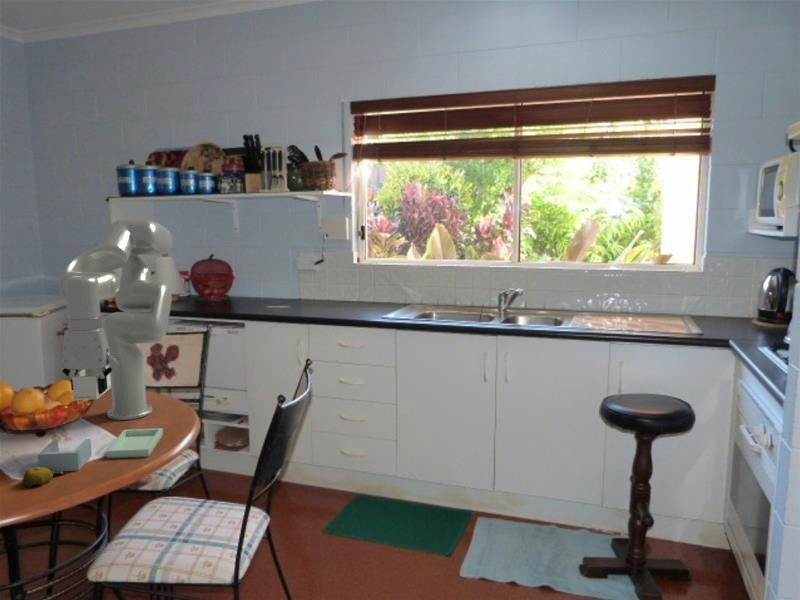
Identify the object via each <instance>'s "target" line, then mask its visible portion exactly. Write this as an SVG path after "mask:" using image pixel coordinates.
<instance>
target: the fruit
mask: <svg viewBox="0 0 800 600" xmlns="http://www.w3.org/2000/svg"><path fill="white" fill-rule="evenodd" d="M55 474H56V475H59V474H60V476H62V475H63V474H64V471H55V472H53V471H50V470H49V469H47V468H44V467H41V468H39V466H38V467H33V468H28V469H27V470H26V471H25V473H24V475H23V477H22V483H23V486H24V488H27V487H32V486H33V485H36V486H37V485H40V486H41V487H42V486H44V485H47V484H48V483H50V482H51V481H52V480H53V476H54V475H55Z"/></svg>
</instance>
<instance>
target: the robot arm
mask: <svg viewBox="0 0 800 600" xmlns="http://www.w3.org/2000/svg"><path fill="white" fill-rule="evenodd" d="M172 248H173V236H172V233H171V232H170V230H169V229H168V228H166V227H165V226H164V225H162V224H160V223H158V222H157V221H154V220H151V219H150V220H149V219H119V220H116V221H114V222H112V223H111V224H110V226H109V227H108V229H107V230H106V232H105V234H104V235H103V238H102V239H101V240H100V242H99V244H98V246H95V247H93V248H92V249H88V250H87V251H86V252H83V253H81V254H79V255H77V256H75V257H73V259H72V260H70V261H69V262H68V263H67V265H66V266H65V268H64V269H63V271H62V273H61V275H60V278H59V281H58V292H59V294H60V295H61V296H62V297H63V298H64V299H65V305H66V319H63V320H62V321H61V324H62V326H66V328H67V329H66V330H65V331H64V335H63V341H62V342H63V343H62V357H61V359H59V361H58V362H57V363H56V364H55V367H56V368H57V369H58V370H60V371H61V372H62V373H63V374H65V376H66V377H67V378H68V379H69V380H70V386H71V391H73V381H72V377H73V376H75V375H76V374H78V373H79V372H80V371H82V370H83V369H96V370H97V372H98V374H99V379H98V388H99V394H102V393H103V392H105V391H106V389H107V375H108V374H109V373H110V378H111V388H110V389H111V401H112V405H111V406H112V407H111V408H110V409H108V411H107V417H108V418H109V419H111V420H115V421H117V420H118V421H127V420H128V421H129V420H135V419H140V418H143V417H145V416H148V415H150V414H151V413H152V412H153V407H152V405H150V404H148V403H147V391H146V390H147V389H146V376H145V375H146V373H145V357H144V354H143V352H142V350H141V349H140V347H139V346H138V345H137V344H158V343H161V342H163V340H164V339H165V337H166V334H167V329H168V325H169V319H170V314H171V307H172V301H173V300H172V290H171V288H170V286H169V285H168V284H167V283H165V282H163V281H151V277H152V271H151V269H150V267H149V266H148V264H147V262H145V261H144V260H143V259H142V258H141V257H140V256H139V255H145V256H146V255H149V256H150V255H159V256H160V255H167V254H168V253H170V252H171V250H172ZM120 268H121V274H120V275H121V276H120V279H118V277H117V276H116V275H115V274H114V273H112V272H111V271H114V270H118V269H120ZM113 298H116V299H115V302H116V303H115V304H116V307H117V308H118V309H119V310H120V311H116V312H112V313H109V315H107V316H106V317H105V319H104V320H103V324H102V319H101V303H100V301H109V300H112V299H113ZM108 364H109V365H108ZM105 365H106V366H107V365H108V366H109V367H108V368H107V369H106V367H105ZM106 392H107V391H106ZM106 392H105V393H106ZM72 394H73V395H74V393H73V392H72Z"/></svg>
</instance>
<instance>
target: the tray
mask: <svg viewBox="0 0 800 600" xmlns="http://www.w3.org/2000/svg"><path fill="white" fill-rule="evenodd" d="M163 430H164V429H163V428H162V427H161V428H160V427H158V428H137V429H133V428H132V429H123V430H122V432H120V434H119V436H117V437H116V439H115V440H114V441H113V443H112V444H111V445H110V446H109V447H108V448H107V450H106V453H105V454H106V459H107V460H108V459H129V458H128V457H131V458H143V457H144V458H147V457H150V456H151V454H152V453H153V451H154V450H155V448H156V446H157V445H158V443H159V442H160V440H161V438H162V437H163V436H164V433H163V432H164V431H163Z"/></svg>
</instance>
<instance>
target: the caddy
mask: <svg viewBox="0 0 800 600" xmlns="http://www.w3.org/2000/svg"><path fill="white" fill-rule="evenodd" d="M109 366H110V365H107V364H106V365H105V367H106V369H107V368H108V367H109ZM98 379H99V374H98V372H97V370H96V369H82V370H80V371H79V372H78V374H76V375H75V376H73V377H72V381H73V390H72V394H73V393H74V394H73V400H74V401H75V400H76V401H77V400H78V401H79V400H80V401H81V400H83V401H84V400H98V399H99V398H100V397H102V396H103V395H104V394H105V393H106V392H107V391H109V390H110V389H111V376H110V373H109V374H108V375H107V389H106V391H105V392H103V393H102V394H99V388H98Z"/></svg>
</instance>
